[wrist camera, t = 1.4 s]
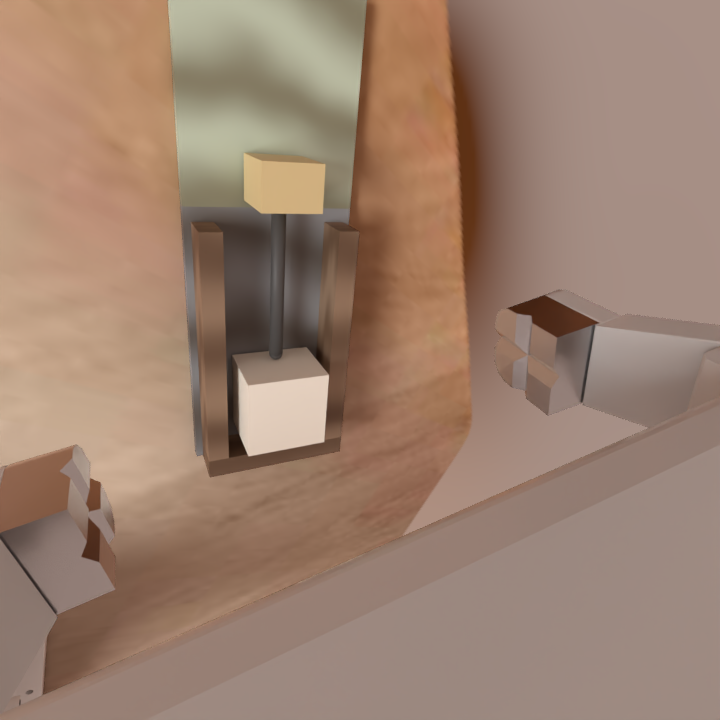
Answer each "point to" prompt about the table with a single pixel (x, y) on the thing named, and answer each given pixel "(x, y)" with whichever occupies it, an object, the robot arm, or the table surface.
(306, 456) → the shelf lane
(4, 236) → the table surface
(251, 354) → the block plunger with rod
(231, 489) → the table surface
